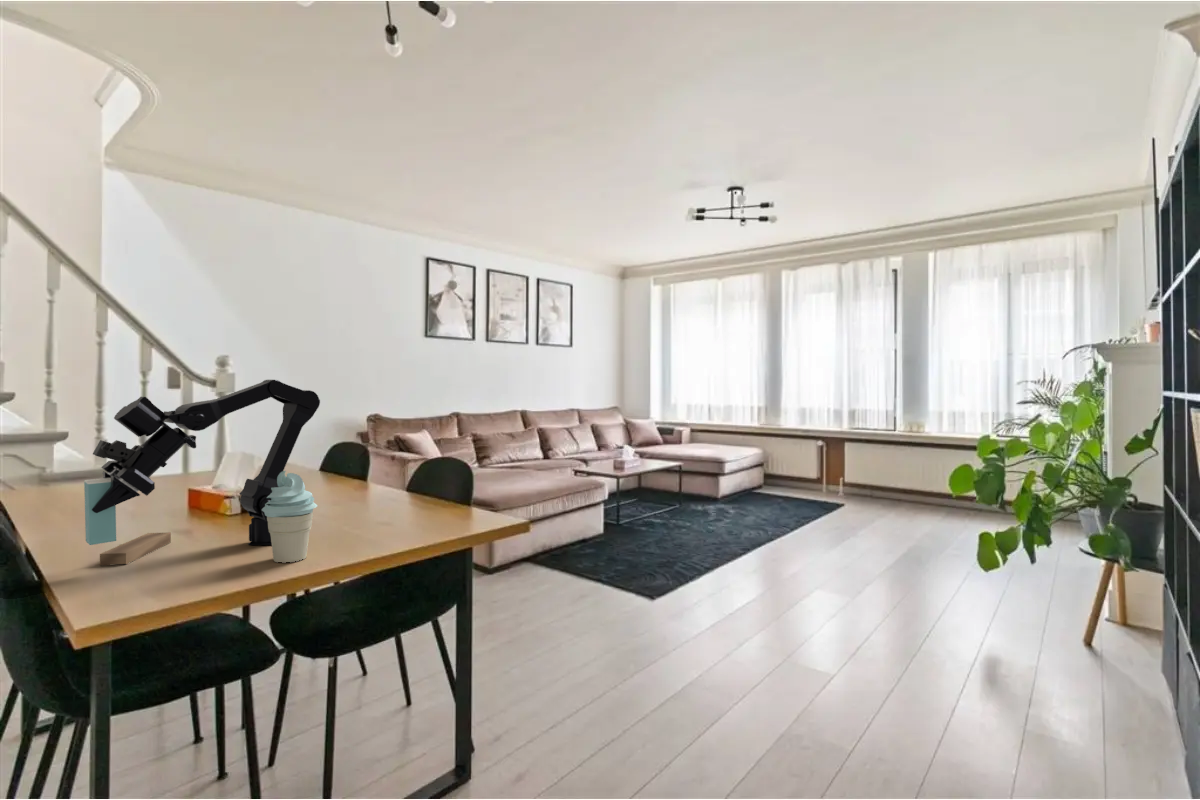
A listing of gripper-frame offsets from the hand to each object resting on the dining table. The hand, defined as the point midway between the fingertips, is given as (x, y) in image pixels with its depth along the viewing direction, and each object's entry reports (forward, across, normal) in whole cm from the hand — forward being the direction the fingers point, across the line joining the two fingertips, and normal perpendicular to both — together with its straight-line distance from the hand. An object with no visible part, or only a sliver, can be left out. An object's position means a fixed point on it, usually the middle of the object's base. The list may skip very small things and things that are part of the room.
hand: (91, 510), depth 122 cm
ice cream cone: (-13, +16, +32) cm, 38 cm away
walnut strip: (+3, -12, +16) cm, 21 cm away
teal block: (+4, 0, +6) cm, 7 cm away
